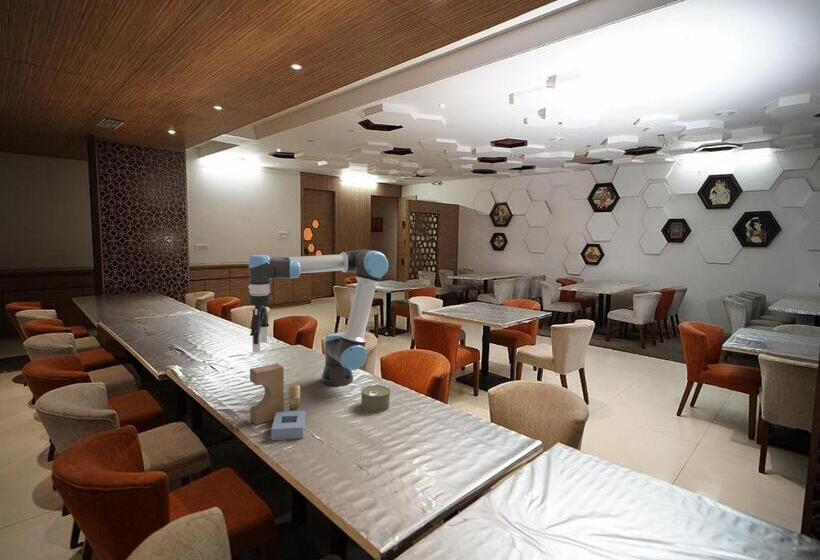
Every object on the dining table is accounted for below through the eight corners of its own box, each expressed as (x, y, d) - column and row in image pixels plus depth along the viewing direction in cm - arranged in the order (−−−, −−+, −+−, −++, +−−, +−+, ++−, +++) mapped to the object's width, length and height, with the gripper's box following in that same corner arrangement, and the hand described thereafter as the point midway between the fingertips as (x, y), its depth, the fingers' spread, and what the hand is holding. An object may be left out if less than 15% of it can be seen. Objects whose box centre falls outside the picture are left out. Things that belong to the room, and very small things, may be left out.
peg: (300, 413, 162) (300, 384, 161) (299, 418, 158) (299, 388, 157) (289, 414, 161) (289, 384, 160) (288, 419, 157) (288, 388, 156)
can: (393, 403, 176) (394, 387, 175) (384, 414, 164) (384, 397, 164) (367, 399, 179) (367, 383, 178) (356, 410, 167) (356, 393, 167)
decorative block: (255, 425, 151) (254, 372, 149) (249, 419, 155) (249, 368, 153) (284, 417, 158) (284, 366, 156) (278, 412, 163) (278, 363, 160)
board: (305, 420, 156) (305, 410, 156) (303, 438, 143) (303, 427, 142) (276, 421, 154) (276, 411, 154) (271, 440, 141) (271, 429, 140)
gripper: (256, 289, 174) (257, 339, 176) (241, 299, 150) (242, 356, 152) (275, 290, 175) (275, 338, 178) (263, 299, 151) (263, 356, 153)
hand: (260, 347), depth 165 cm, fingers open, 13 cm apart
